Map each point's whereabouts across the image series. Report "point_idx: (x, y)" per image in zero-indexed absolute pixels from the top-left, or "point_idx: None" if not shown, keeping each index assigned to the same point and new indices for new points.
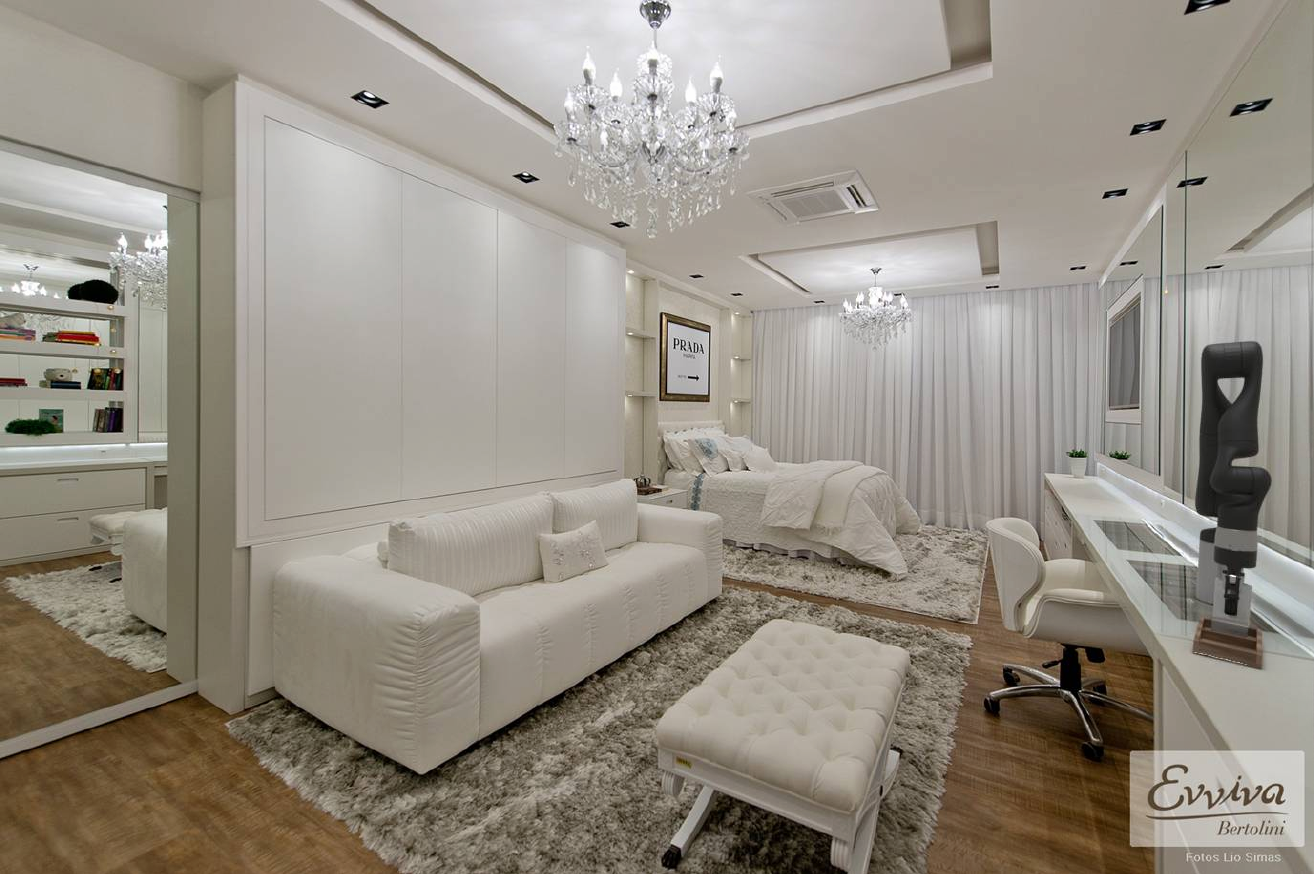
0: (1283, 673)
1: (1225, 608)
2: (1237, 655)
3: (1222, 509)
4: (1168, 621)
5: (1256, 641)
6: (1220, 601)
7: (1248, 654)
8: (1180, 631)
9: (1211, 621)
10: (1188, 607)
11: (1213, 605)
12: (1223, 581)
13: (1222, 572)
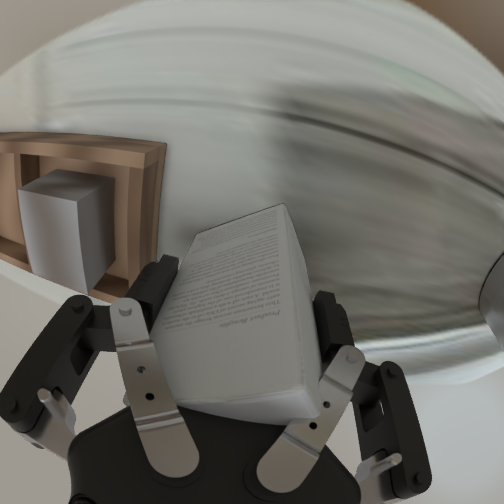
0: None
1: (156, 270)
2: None
3: None
4: (203, 49)
5: (29, 263)
6: (234, 279)
7: None
8: (96, 89)
9: (21, 187)
10: (463, 184)
11: (287, 241)
12: (127, 391)
13: (155, 467)
